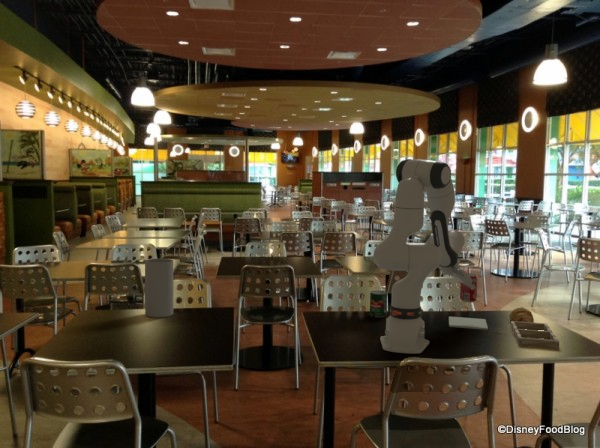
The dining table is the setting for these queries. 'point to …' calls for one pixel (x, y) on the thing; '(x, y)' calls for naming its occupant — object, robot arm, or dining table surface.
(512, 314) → the croissant
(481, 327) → the coaster mat
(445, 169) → the robot arm
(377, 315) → the canned tomato
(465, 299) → the soda can
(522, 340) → the drink caddy
